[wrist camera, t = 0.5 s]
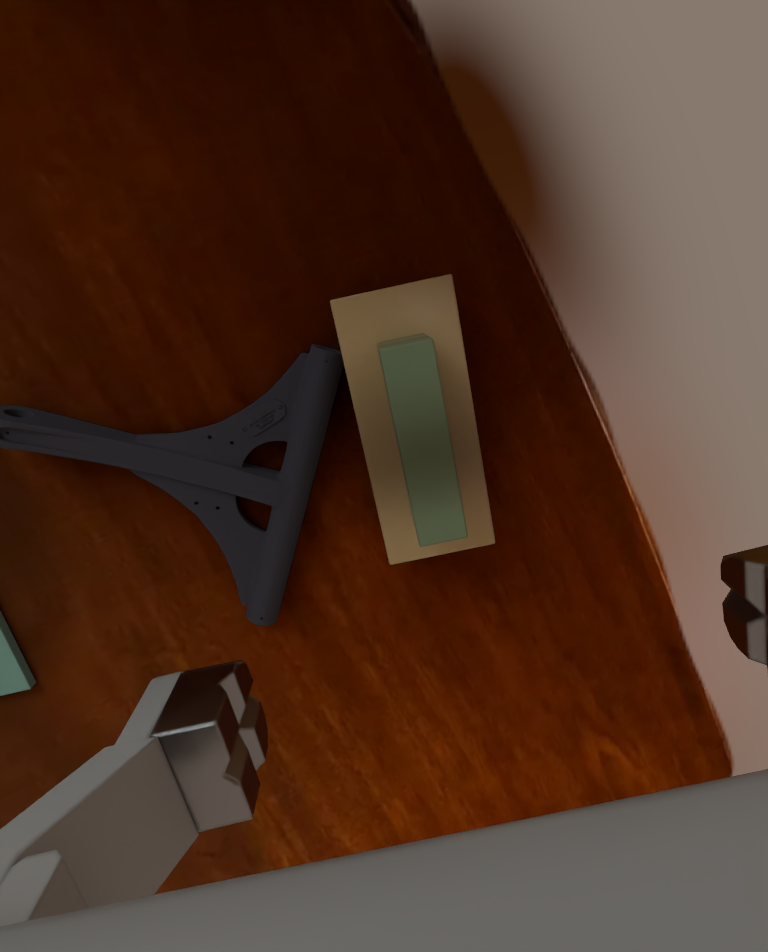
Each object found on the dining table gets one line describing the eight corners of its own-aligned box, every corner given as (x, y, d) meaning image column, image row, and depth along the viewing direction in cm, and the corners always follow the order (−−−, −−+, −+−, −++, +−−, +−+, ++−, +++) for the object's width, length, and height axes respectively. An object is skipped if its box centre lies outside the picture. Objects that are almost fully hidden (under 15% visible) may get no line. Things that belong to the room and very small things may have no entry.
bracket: (22, 259, 25) (-18, 255, 23) (347, 352, 27) (345, 358, 24) (-4, 546, 29) (-40, 571, 27) (279, 610, 31) (271, 640, 29)
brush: (333, 299, 26) (324, 301, 20) (440, 276, 26) (465, 270, 20) (386, 534, 30) (393, 598, 24) (480, 514, 30) (512, 574, 23)
